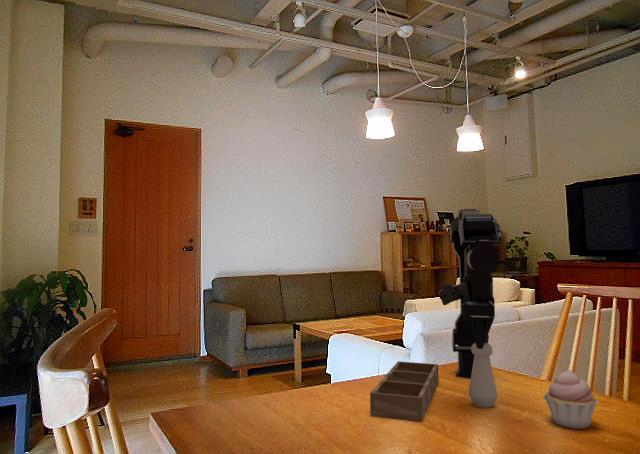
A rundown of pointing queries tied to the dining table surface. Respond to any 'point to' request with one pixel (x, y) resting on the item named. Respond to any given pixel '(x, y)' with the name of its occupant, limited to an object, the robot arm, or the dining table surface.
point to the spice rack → (405, 391)
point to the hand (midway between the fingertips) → (480, 344)
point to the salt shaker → (482, 378)
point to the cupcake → (570, 401)
